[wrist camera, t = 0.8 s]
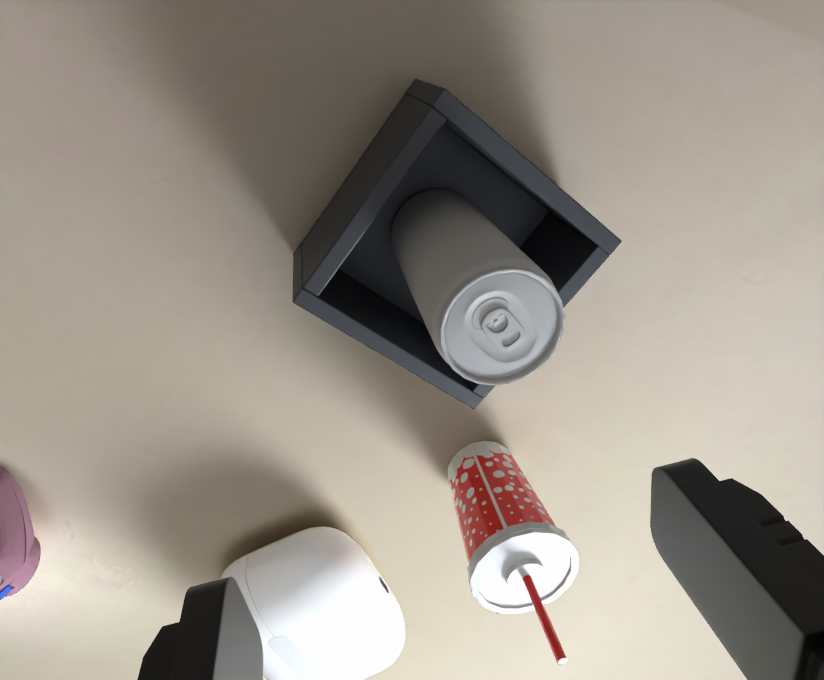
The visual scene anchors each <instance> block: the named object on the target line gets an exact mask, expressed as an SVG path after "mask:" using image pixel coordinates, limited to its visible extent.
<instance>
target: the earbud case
mask: <svg viewBox="0 0 824 680" xmlns="http://www.w3.org/2000/svg"><path fill="white" fill-rule="evenodd" d="M227 577H233V578H234V579H235V580H236V582H237V584H238V586H239V588H240V591H241V593H242V595H243V597H244V599H245V601H246V603H247V606H248V608H249V610H250V612H251V614H252V616H253V618H254V621H255V623H256V625H257V627H258V630H259V633H260V637H261V641H262V648H263V676H264V677H265V678H266V679H267V680H362V679H365V678H367V677H369V676H371V675H373V674H375V673H378V672H380V671H382V670H383V669H385V668H387V667H388V666H390V665H391V664H392V663H393V662H394V661H395V660H396V659H397V657H398V656H399V654H400V652H401V650H402V648H403V645H404V640H405V625H404V618H403V614H402V611H401V608H400V606H399V603H398V601H397V600H396V598H395V596H394V595H393V593H392V591H391V590H390V588H389V587H388V585H387V584H386V582H385V581H384V579H383V578H382V576H381V575H380V573H379V572H378V570H377V569H376V567H375V566H374V564H373V563H372V561H371V560H370V559H369V557H368V556H367V554H366V553H365V552H364V550H363V549H362V548H361V547H360V546H359V544H358V543H357V542H356V541H355V540H353V539H352V538H351V537H350V536H348V535H347V534H345V533H344V532H342V531H340V530H337V529H335V528H331V527H312V528H308V529H305V530H302V531H299V532H297V533H294V534H292V535H290V536H287V537H285V538H283V539H280V540H278V541H276V542H273V543H271V544H269V545H267V546H264V547H262V548H260V549H258V550H255V551H253V552H251V553H249V554H246V555H244V556H242V557H241V558H239V559H237V560H236V561H234V562H233V563H232V564H230V565H229V566H228V567H227V568H226V570H225V571H224V572H223V574H222V575H221V577H220V579H223V578H227ZM220 579H219V580H220Z"/></svg>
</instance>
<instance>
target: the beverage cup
mask: <svg viewBox="0 0 824 680" xmlns="http://www.w3.org/2000/svg"><path fill="white" fill-rule="evenodd" d="M447 474H448V481H449V485H450V489H451V494H452V498H453V502H454V506H455V510H456V514H457V518H458V522H459V526H460V530H461V534H462V538H463V542H464V546H465V550H466V554H467V558H468V562H469V565H468V568H467V569H468V577H469V583H470V586H471V592H472V595H473V596H474V598H475V599H476V600H477V601H478V602H479V603H480V605H481V606H482V607H484V608H487V609H489V610H492V611H494V612H497V613H511V614H518V613H522V612H526V611H530V610H534V609H535V610H536V613H537V615H538V618H539V620H540V622H541V625H542V627H543V630H544V632H545V634H546V637H547V639H548V641H549V644H550V646H551V649H552V651H553V653H554V656H555V658H556V661H557V663H558V664H559V665H562V664H564V663H566V662H567V658H566V656H565V654H564V651H563V649H562V647H561V644H560V642H559V640H558V638H557V635H556V633H555V631H554V628H553V626H552V624H551V621H550V619H549V617H548V615H547V612H546V610H545V608H544V605H545V604H547V603H549V602H551V601H553V600H555V599H556V598H557V597H559V596H560V595H561V594H562V593H563V592H564V591H565V590H566V589H567V588H568V587H569V586H570V585H571V583H572V581H573V579H574V577H575V575H576V573H577V571H578V553H577V551H576V549H575V548H574V546H573V545H572V543H571V541H570V540H569V538H568V537H567V535H566V534H565V532H564V531H563V530H561V529H559V528H557V527H556V526H555V524H554V522H553V521H552V519H551V518H550V516H549V514H548V513H547V511H546V510H545V508H544V506H543V505H542V503H541V502H540V500H539V498H538V497H537V495H536V494H535V492H534V490H533V489H532V487H531V486H530V484H529V482H528V481H527V479H526V478H525V476H524V475H523V473H522V471H521V470H520V468H519V467H518V465H517V463H516V462H515V460H514V459H513V457H512V455H511V454H510V452H509V451H508V449H507V448H506V447H505V446H503V445H501V444H499V443H497V442H492V441H480V442H475V443H471V444H469V445H467V446H466V447H464V448H462V449H460V450H459V451H458V452H457V453H456V454H455V456H454V457H453V458H452V459H451V460H450V463H449V466H448V469H447Z"/></svg>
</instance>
